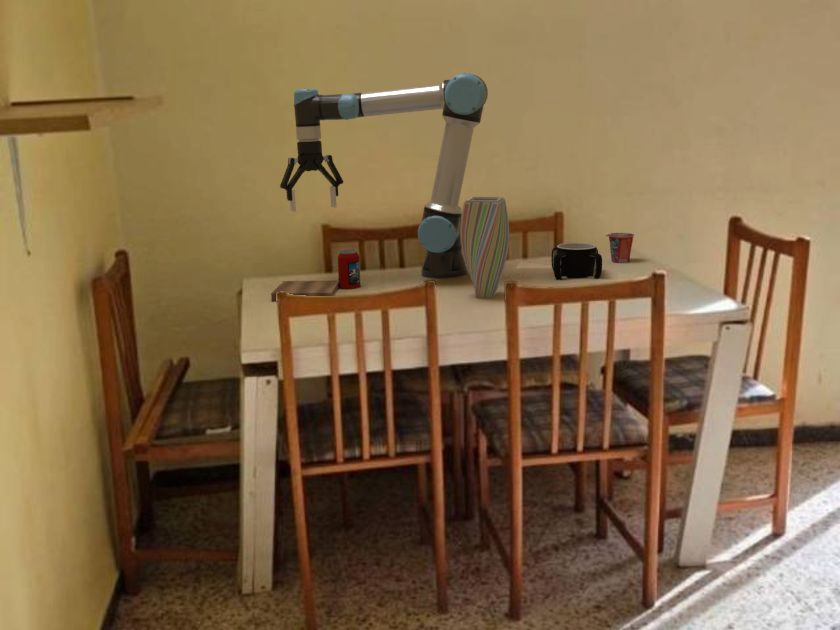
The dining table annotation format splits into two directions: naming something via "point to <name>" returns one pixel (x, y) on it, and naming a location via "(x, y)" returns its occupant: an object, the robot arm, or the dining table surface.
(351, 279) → the beverage can
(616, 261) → the cup
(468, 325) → the dining table surface
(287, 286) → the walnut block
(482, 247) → the vase
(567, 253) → the black round container
